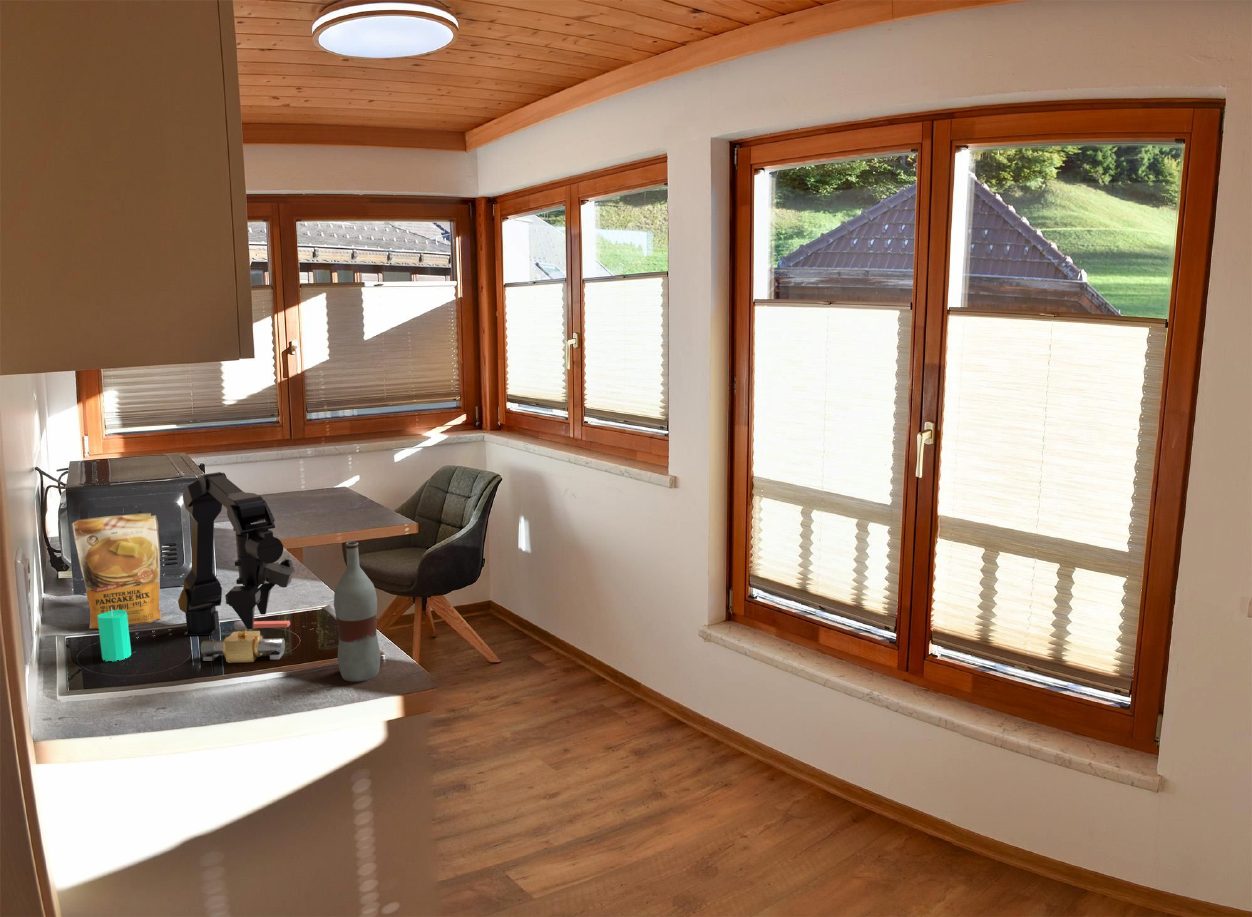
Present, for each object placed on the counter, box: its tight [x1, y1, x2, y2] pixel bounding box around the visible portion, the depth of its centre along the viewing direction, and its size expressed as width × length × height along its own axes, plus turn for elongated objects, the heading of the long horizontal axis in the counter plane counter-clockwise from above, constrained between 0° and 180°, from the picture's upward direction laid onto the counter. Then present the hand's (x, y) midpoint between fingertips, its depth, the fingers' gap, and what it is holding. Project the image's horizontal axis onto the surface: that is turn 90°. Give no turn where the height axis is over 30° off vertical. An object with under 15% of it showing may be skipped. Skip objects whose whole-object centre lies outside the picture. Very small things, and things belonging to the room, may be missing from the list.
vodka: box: [333, 541, 382, 683], centre depth 207 cm, size 9×9×30 cm
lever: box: [233, 619, 291, 631], centre depth 218 cm, size 12×3×1 cm, turn 92°
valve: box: [200, 628, 286, 664], centre depth 219 cm, size 18×6×7 cm, turn 94°
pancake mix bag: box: [70, 512, 163, 630], centre depth 240 cm, size 7×19×28 cm, turn 115°
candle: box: [97, 607, 132, 662], centre depth 220 cm, size 6×6×12 cm
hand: (256, 621), depth 210 cm, fingers open, 9 cm apart
